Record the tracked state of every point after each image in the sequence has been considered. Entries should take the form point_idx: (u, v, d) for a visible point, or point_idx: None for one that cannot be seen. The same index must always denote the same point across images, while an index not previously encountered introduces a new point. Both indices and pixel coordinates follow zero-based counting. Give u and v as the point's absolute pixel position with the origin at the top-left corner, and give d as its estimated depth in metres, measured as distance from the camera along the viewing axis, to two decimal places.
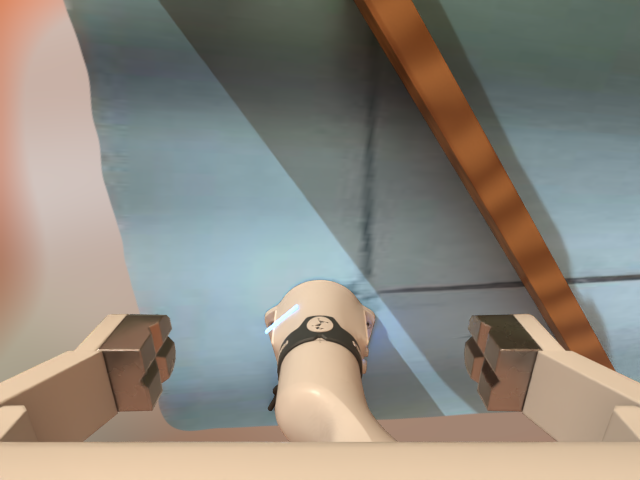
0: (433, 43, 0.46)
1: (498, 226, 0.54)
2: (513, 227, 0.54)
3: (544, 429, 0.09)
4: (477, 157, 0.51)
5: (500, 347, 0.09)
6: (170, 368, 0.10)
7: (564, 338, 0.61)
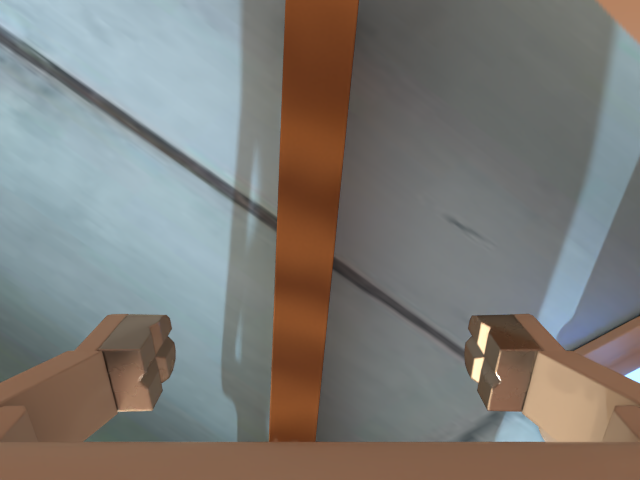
0: None
1: (314, 432, 0.36)
2: (297, 420, 0.36)
3: (544, 429, 0.09)
4: None
5: (500, 347, 0.09)
6: (169, 368, 0.10)
7: (337, 189, 0.28)
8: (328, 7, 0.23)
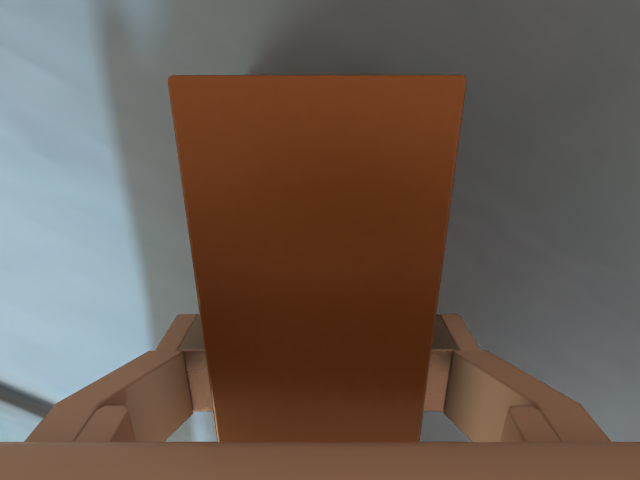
0: None
1: None
2: None
3: (462, 429, 0.09)
4: None
5: None
6: None
7: None
8: (344, 159, 0.06)
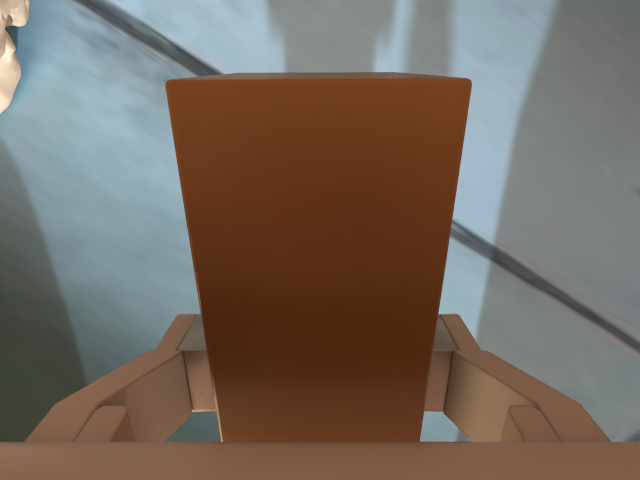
0: None
1: None
2: None
3: (461, 429, 0.09)
4: None
5: None
6: None
7: None
8: (346, 164, 0.06)
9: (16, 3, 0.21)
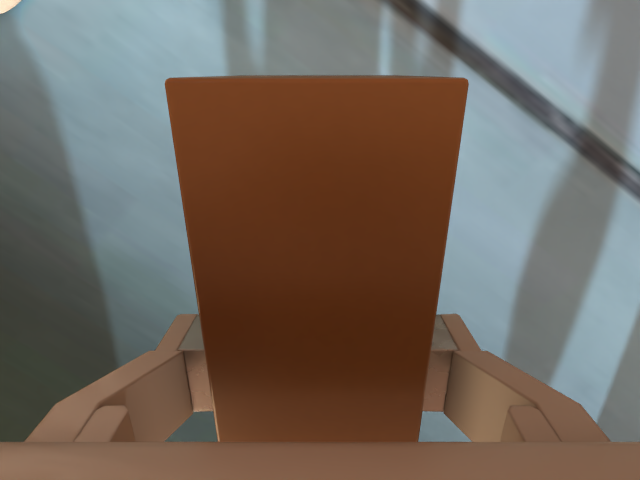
0: None
1: None
2: None
3: (462, 429, 0.09)
4: None
5: None
6: None
7: None
8: (343, 163, 0.06)
9: None
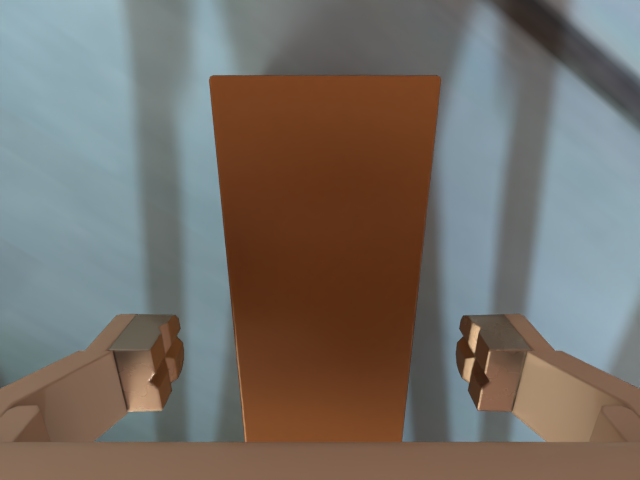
0: None
1: None
2: None
3: (533, 429, 0.09)
4: None
5: (490, 347, 0.09)
6: (178, 368, 0.10)
7: None
8: (345, 141, 0.08)
9: None
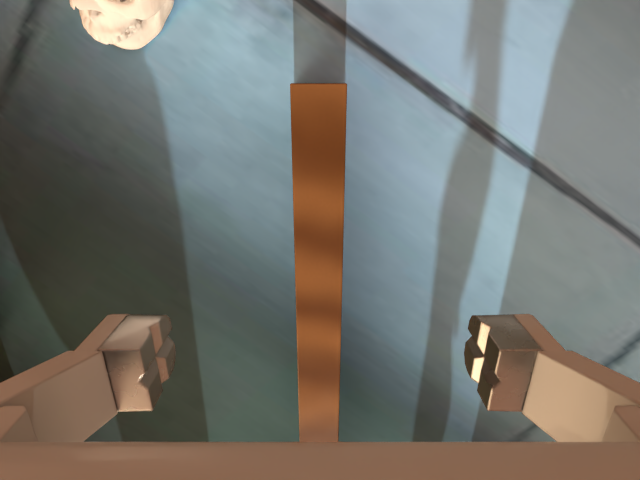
0: None
1: (337, 427, 0.43)
2: (322, 418, 0.43)
3: (544, 429, 0.09)
4: None
5: (500, 347, 0.09)
6: (170, 368, 0.10)
7: (341, 232, 0.35)
8: (323, 100, 0.30)
9: None
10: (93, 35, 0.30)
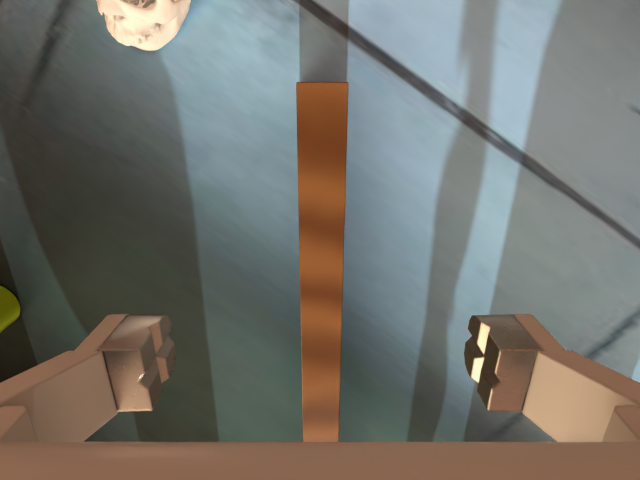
0: None
1: (338, 406, 0.46)
2: (324, 397, 0.46)
3: (544, 429, 0.09)
4: None
5: (500, 347, 0.09)
6: (169, 368, 0.10)
7: (342, 220, 0.37)
8: (326, 97, 0.33)
9: None
10: (116, 37, 0.33)
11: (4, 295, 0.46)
